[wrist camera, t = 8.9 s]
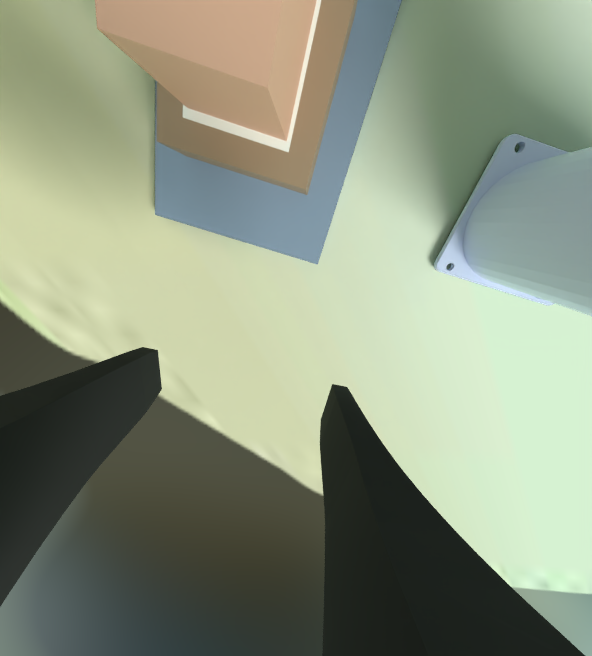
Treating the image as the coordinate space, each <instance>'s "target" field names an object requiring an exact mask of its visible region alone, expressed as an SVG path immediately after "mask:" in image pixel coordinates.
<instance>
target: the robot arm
mask: <svg viewBox="0 0 592 656" xmlns="http://www.w3.org/2000/svg"><path fill="white" fill-rule="evenodd" d="M517 144H518V145H519V151H518V152H517V153H516V152H515V146H516V145H517ZM449 263H451V267H450V268H449V269H446V267H447V265H448V264H449ZM434 268H435V270H437V271H439V272H443V273H446V274H449V275H452V276H455V277H459V278H462V279H465V280H468V281H471V282H474V283H478V284H481V285H484V286H487V287H490V288H494V289H497V290H500V291H503V292H506V293H510V294H513V295H516V296H519V297H522V298H525V299H529V300H532V301H535V302H538V303H541V304H545V305H553V304H558V305H561V306H563V307H566V308H569V309H572V310H575V311H578V312H581V313H584V314H587V315H589V316H592V147H588V148H585V149H581V150H577V151H573V152H567V151H564V150H561V149H558V148H555V147H553V146H550V145H547V144H544V143H541V142H538V141H536V140H533V139H530V138H527V137H524V136H522V135H519V134H512V135H509V136H507V137H505V138H504V139H502V141H501V142H500V143H499V145H498V147H497V149H496V151H495V152H494V154H493V156H492V158H491V160H490V162H489V163H488V165H487V167H486V169H485V171H484V173H483V174H482V176H481V178H480V180H479V182H478V184H477V185H476V187H475V189H474V191H473V193H472V195H471V196H470V198H469V200H468V202H467V204H466V206H465V207H464V209H463V211H462V213H461V215H460V217H459V218H458V220H457V222H456V224H455V226H454V228H453V229H452V231H451V233H450V235H449V237H448V239H447V240H446V242H445V244H444V246H443V248H442V250H441V251H440V253H439V255H438V257H437V259H436V261H435V263H434ZM161 389H162V387H161V377H160V368H159V358H158V350H154V349H149V348H144V347H142V348H139V349H135V350H132V351H129V352H126V353H124V354H121V355H118V356H115V357H113V358H110V359H107V360H104V361H102V362H99V363H96V364H94V365H91V366H88V367H85V368H83V369H80V370H77V371H75V372H72V373H69V374H66V375H63V376H60V377H57V378H54V379H51V380H48V381H46V382H42V383H39V384H37V385H34V386H31V387H27V388H24V389H21V390H18V391H15V392H11V393H8V394H5V395H2V396H0V606H1V605H2V603H3V601H4V600H5V598H6V597H7V595H8V594H9V592H10V591H11V589H12V588H13V586H14V585H15V583H16V582H17V580H18V579H19V577H20V576H21V574H22V573H23V571H24V570H25V568H26V567H27V565H28V564H29V562H30V561H31V559H32V558H33V556H34V555H35V553H36V552H37V550H38V549H39V547H40V546H41V544H42V543H43V542H44V540H45V539H46V537H47V536H48V535H49V533H50V532H51V530H52V529H53V528H54V526H55V525H56V523H57V522H58V520H59V519H60V518H61V516H62V514H63V513H64V512H65V510H66V509H67V508H68V506H69V505H70V504H71V502H72V501H73V499H74V498H75V497H76V495H77V494H78V493H79V492H80V490H81V489H82V487H83V486H84V485H85V483H86V482H87V481H88V479H89V478H90V477H91V476H92V474H93V473H94V472H95V471H96V470H97V468H98V467H99V466H100V465H101V464H102V462H103V461H104V460H105V459H106V458H107V457H108V456H109V454H110V453H111V452H112V451H113V450H114V449H115V448H116V446H117V445H118V444H119V443H120V442H121V441H122V439H123V438H124V437H125V436H126V435H127V434H128V433H129V431H130V430H131V429H132V428H133V427H134V426H135V425H136V424H137V422H138V421H139V420H140V419H141V418H142V417H143V415H144V414H145V413H146V412H147V410H148V409H149V407H150V406H151V405H152V403H153V402H154V400H155V399H156V397H157V396H158V394H159V393H160V391H161ZM320 453H321V467H322V481H323V494H324V506H325V582H324V583H325V584H324V624H323V656H585V655H584V654H583V653H581V652H580V651H579V650H578V649H577V648H576V647H575V646H574V645H573V644H572V643H571V642H570V641H568V640H567V639H566V638H565V637H564V636H563V635H562V634H561V633H560V632H559V631H558V630H557V629H555V628H554V627H553V626H552V625H551V624H550V623H549V622H548V621H547V620H546V619H545V618H544V617H543V616H541V615H540V614H539V613H538V612H537V611H536V610H535V609H534V608H533V607H532V606H531V605H529V604H528V603H527V602H526V601H525V600H524V599H523V598H522V597H521V596H520V595H519V594H518V593H517V592H515V590H513V589H512V588H511V587H510V586H509V585H508V584H507V583H506V582H505V581H504V580H503V579H502V578H501V577H500V576H499V575H498V574H497V573H496V572H495V571H494V570H493V569H492V568H491V567H490V566H489V565H488V564H487V563H486V562H485V561H484V560H483V559H482V558H481V557H480V556H479V555H478V554H477V553H476V552H475V551H474V550H473V549H472V548H471V547H470V546H469V545H468V544H467V543H466V542H465V541H464V540H463V539H462V537H461V536H460V535H459V534H458V533H457V532H456V531H455V530H454V529H453V528H452V527H451V526H450V525H449V524H448V522H447V521H446V520H445V519H444V518H443V517H442V516H441V515H440V514H439V513H438V512H437V510H436V509H435V508H434V507H433V506H432V505H431V504H430V503H429V501H428V500H427V499H426V498H425V497H424V496H423V495H422V493H421V492H420V491H419V490H418V489H417V487H416V486H415V485H414V484H413V483H412V481H411V480H410V479H409V478H408V476H407V475H406V474H405V473H404V472H403V470H402V469H401V468H400V466H399V465H398V464H397V463H396V461H395V460H394V459H393V457H392V456H391V454H390V453H389V452H388V450H387V449H386V448H385V446H384V445H383V443H382V442H381V440H380V439H379V437H378V436H377V434H376V433H375V431H374V430H373V428H372V427H371V425H370V424H369V422H368V421H367V419H366V417H365V416H364V414H363V413H362V411H361V409H360V408H359V406H358V404H357V403H356V401H355V399H354V398H353V396H352V394H351V393H350V391H349V389H348V388H347V387H344V386H339V385H334V384H332V387H331V390H330V393H329V396H328V399H327V403H326V406H325V409H324V412H323V415H322V418H321V429H320Z"/></svg>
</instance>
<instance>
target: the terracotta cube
mask: <svg viewBox="0 0 592 656" xmlns="http://www.w3.org/2000/svg"><path fill="white" fill-rule="evenodd" d="M316 1H317V0H95V5H96V19H97V29H98V30H100V31H101V32H102V33H103V34H104V35H105V36H106V37H107V38H109V39H110V40H111V41H112V42H113V43H114V44H115V45H117V46H118V47H119V48H120V49H121V50H122V51H123V52H124V53H126V54H127V55H128V56H129V57H130V58H131V59H132V60H134V61H135V62H136V63H137V64H138V65H139V66H140V67H141V68H143V69H144V70H145V71H146V72H147V73H148V74H149V75H151V76H152V77H153V78H154V79H155V80H156V81H157V82H158V83H160V84H161V85H162V86H163V87H164V88H165V89H166V90H168V91H169V92H170V93H171V94H172V95H173V96H174V97H175V98H177V99H178V100H179V101H180V102H181V103H182V104H183V105H185V106H186V107H187V108H189V109H192V110H195V111H198V112H201V113H204V114H207V115H210V116H213V117H216V118H219V119H222V120H225V121H228V122H231V123H234V124H237V125H240V126H243V127H245V128H248V129H251V130H254V131H257V132H260V133H263V134H266V135H269V136H272V137H275V138H278V139H281V140H284V141H287V138H288V133H289V129H290V124H291V119H292V114H293V110H294V105H295V100H296V95H297V91H298V86H299V81H300V77H301V72H302V67H303V62H304V58H305V53H306V48H307V43H308V39H309V34H310V29H311V25H312V20H313V15H314V10H315V6H316Z"/></svg>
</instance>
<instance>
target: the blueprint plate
mask: <svg viewBox="0 0 592 656" xmlns="http://www.w3.org/2000/svg"><path fill="white" fill-rule="evenodd" d="M401 1H402V0H317V1H316V6H315V10H314V15H313V20H312V25H311V29H310V34H309V39H308V43H307V48H306V53H305V58H304V62H303V67H302V72H301V77H300V81H299V86H298V91H297V95H296V100H295V105H294V110H293V114H292V119H291V124H290V129H289V133H288V138H287V141H284V140H281V139H278V138H275V137H272V136H269V135H266V134H263V133H260V132H257V131H254V130H251V129H248V128H245V127H243V126H240V125H237V124H234V123H231V122H228V121H225V120H222V119H219V118H216V117H213V116H210V115H207V114H204V113H201V112H198V111H195V110H192V109H189V108H187V107H186V106H185V105H183V104H182V103H181V102H180V101H179V100H178V99H177V98H175V97H174V96H173V95H172V94H171V93H170V92H169V91H168V90H166V89H165V88H164V87H163V86H162V85H161V84H160V83H158V82H157V81H156V80H155V215H158V216H161V217H164V218H168V219H171V220H174V221H177V222H181V223H184V224H187V225H190V226H194V227H197V228H200V229H204V230H207V231H210V232H213V233H217V234H220V235H223V236H226V237H230V238H233V239H236V240H239V241H243V242H246V243H249V244H253V245H256V246H259V247H262V248H266V249H269V250H272V251H275V252H279V253H282V254H285V255H288V256H292V257H295V258H298V259H302V260H305V261H308V262H311V263H315V264H318V261H319V258H320V255H321V252H322V249H323V246H324V242H325V239H326V236H327V233H328V230H329V227H330V224H331V221H332V217H333V214H334V211H335V208H336V205H337V202H338V199H339V195H340V192H341V189H342V186H343V183H344V180H345V177H346V174H347V170H348V167H349V164H350V161H351V158H352V155H353V152H354V148H355V145H356V142H357V139H358V136H359V133H360V130H361V127H362V123H363V120H364V117H365V114H366V111H367V108H368V105H369V101H370V98H371V95H372V92H373V89H374V86H375V83H376V80H377V76H378V73H379V70H380V67H381V64H382V61H383V58H384V54H385V51H386V48H387V45H388V42H389V39H390V36H391V33H392V29H393V26H394V23H395V20H396V17H397V14H398V11H399V7H400V4H401Z"/></svg>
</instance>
